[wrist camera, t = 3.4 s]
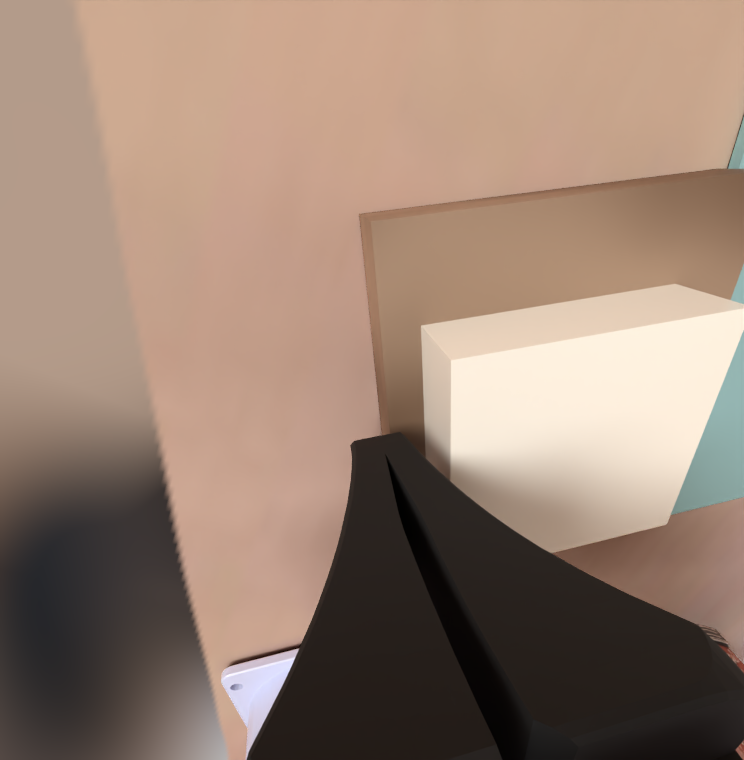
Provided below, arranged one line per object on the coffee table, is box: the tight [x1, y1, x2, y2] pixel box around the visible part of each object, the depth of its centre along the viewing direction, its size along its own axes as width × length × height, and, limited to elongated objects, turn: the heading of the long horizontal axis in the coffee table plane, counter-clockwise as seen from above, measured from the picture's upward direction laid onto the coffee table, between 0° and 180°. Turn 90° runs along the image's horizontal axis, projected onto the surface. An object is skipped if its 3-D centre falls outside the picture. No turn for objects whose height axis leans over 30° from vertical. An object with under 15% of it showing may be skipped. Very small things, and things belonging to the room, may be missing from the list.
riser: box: [359, 169, 744, 458], centre depth 12 cm, size 12×10×2 cm
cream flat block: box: [421, 284, 744, 553], centre depth 11 cm, size 7×7×2 cm
